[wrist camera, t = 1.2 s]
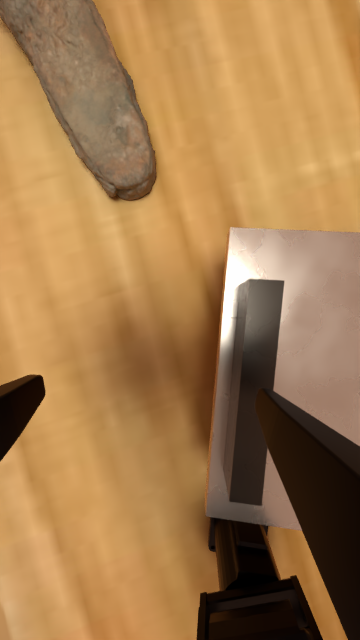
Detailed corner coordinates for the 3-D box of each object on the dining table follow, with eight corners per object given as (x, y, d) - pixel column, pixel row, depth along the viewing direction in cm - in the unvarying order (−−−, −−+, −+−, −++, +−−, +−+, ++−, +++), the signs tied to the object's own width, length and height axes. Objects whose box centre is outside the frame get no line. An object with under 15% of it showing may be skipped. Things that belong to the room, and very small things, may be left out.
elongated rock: (109, 227, 23) (180, 189, 23) (88, 203, 18) (180, 153, 17) (-40, -56, 21) (36, -103, 20) (-115, -181, 15) (-14, -246, 15)
